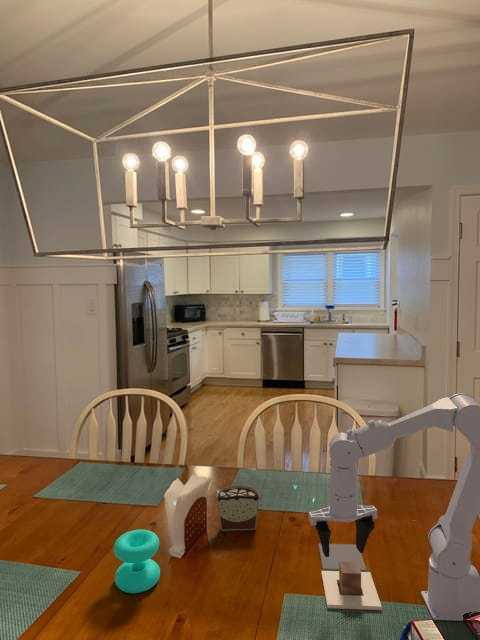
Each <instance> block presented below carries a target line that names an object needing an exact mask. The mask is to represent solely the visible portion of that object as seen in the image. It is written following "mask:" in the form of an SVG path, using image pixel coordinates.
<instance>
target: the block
mask: <svg viewBox="0 0 480 640" xmlns="http://www.w3.org/2000/svg"><path fill="white" fill-rule="evenodd" d="M338 571H339V583H338V588H339V592H340V595H353V596H362V592H361V572H362V571H360V568H359V564H358V562H340V561H339V570H338Z"/></svg>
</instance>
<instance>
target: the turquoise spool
mask: <svg viewBox="0 0 480 640" xmlns="http://www.w3.org/2000/svg"><path fill="white" fill-rule="evenodd" d="M159 548H160V539H159V537H158V535H157V534H156V533H155V532H153V531H151V530H147V529H133V530H130V531H127V532H125V533H123V534H121V535H120V536H119V537H118V538H117V539H116V540H115V542H114V545H113V553H114V555H115V557H116V558H117V559H118V560H120V561H122V562H123V563H121V565H120V566H119V567H118V568H117V570H116V572H115V574H114V583H115V585H116V587H117V588H118V589H119V590H121V591H123V592H124V593H128V594H140V593H143V592H146V591H148V590H150V589H152V588H153V587H154V586H155V585H157V583H158V582H159V580H160V577H161V568H160V566H159V564H158V563H157V562H156V561H155V560H154V559H151V558H152V557H154V556H155V554H156V553H157V552H158V550H159Z"/></svg>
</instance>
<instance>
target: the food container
mask: <svg viewBox="0 0 480 640" xmlns="http://www.w3.org/2000/svg"><path fill="white" fill-rule="evenodd" d="M259 502H262V498H261V495H260V493H259V491H258V490H257V489H256V488H254V487H252V486H248V485H240V484H239V485H237V484H236V485H235V484H234V485H230V486H226V487H223V488H221V489H219V491H217V494H216V496H215V503H217V506H218V507H217V508H218V515H219V524H220V530H221V531H223V532H225V531H226V532H227V531H252V530H253V531H254V530H257V520H258V514H259V513H258V511H259V504H260V503H259Z"/></svg>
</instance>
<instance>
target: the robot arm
mask: <svg viewBox="0 0 480 640" xmlns="http://www.w3.org/2000/svg"><path fill="white" fill-rule="evenodd" d="M454 427H456V429H457V430H458V431H459V433H460V434H462V436H464V437H465V438H466V441H467V442H468V444H469V448H468V451H467V454H466V456H465V460H464V461H463V462H464V463H463V465H462V468H461V470H460V474H459V477H458V479H457V482H456V484H455V486H454V487H455V488H454V490H453V492H452V496H451V498H450V501H449V504H448V507H447V510H446V512H445V514H444V515H441V516H440V517H439V518H438V521H437V523H436V524H435V525H434V526H433V527H432V528H431V529H430V530H429V532H428V534H427V535H428V537H427V538H428V542H429V545H430V546H431V548H432V553H431V554H430V557H429V558H428V578H427V579H428V581H427V582H428V583H427V586H428V587H427V590H422V591H421V592H420V595H421V597H422V599H423V601H424V603H425V605H426V607H427V609H428V611H429V613H430V616H431V618H432V619H433V620H435V621H455V622H457V621H458V622H464V621H463V615H464V614H466V613H469V612H474V611H477V612H480V574H479V572H478V570H477V568H476V567H475V566H474V565H472V561H471V553H472V550H473V541H472V540H473V537H472V530H473V527H474V526H475V523H476V519H477V518H478V514H479V511H480V403H479V402H478V401H477V400H476V399H475V398H474V396H472V395H471V394H468V393H461V392H460V393H455V394H453V395H451V396H450V397H448V396H447V397H443V398H440V399H438V400H437V401H435V402H433V403H431V404H428V405H426V406H425V407H422V408H419V409H418V410H415V411H413V412H411V413H408V414H405V415H404V416H402V417H400V418H397V419H395V420H392V421H391V422H387V421H383V420H382V419H379V420H376V421H375V420H374V419H370V420H368V421H367V425H366V424H365V425H364V426H361V427H358V428H356V429H353V430H352V429H351V428H349V429H347V430H346V432H338V433H336V434H334V435H333V436H332V438H331V440H330V442H328V443H329V453H328V454H329V459H330V461H329V467H330V468H329V506H327V507H325V508H321V509H317V510H315V511H309V512H308V522H309V524H310V525H311V526H314V527H315V529H316V532H317V534H318V537H319V540H320V544H321V545H322V550H323V553H324V555H325V557H329V544H330V539H331V534H332V530H331V529H330V527H329V524H328V523H332V522H337V523H338V522H340V523H351V522H355V530H356V531H355V534H356V535H355V545H356V548H357V549H358V550H359V552H360V553H361V554H363V553H364V551H365V546H366V544H367V541H368V539H369V536H370V534H371V533H372V532H373V530H374V529H375V522H374V520H375V519H378V509H377V508H376V507H375V506H374V505H358V469H357V464H358V462H359V460H360V459H363V458H367V457H368V456H371V455H374V454H377V453H379V452H383V451H384V450H387V449H388V450H389V449H390V448H392V447H393V446H394V443H395V442H396V440H397V439H400V438H403V437H407V436H408V435H412V434H416V433H419V432H422V431H425V430H428V429H431V428H438V429H442V430H445V431H448V432H450V433H454Z"/></svg>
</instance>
